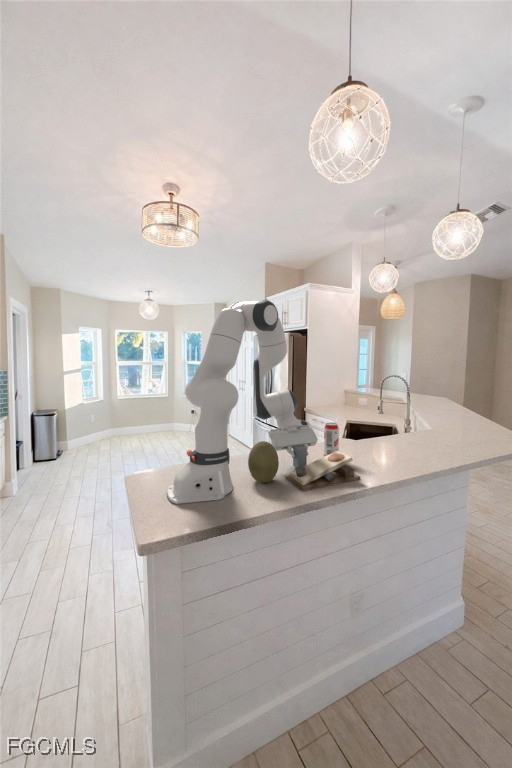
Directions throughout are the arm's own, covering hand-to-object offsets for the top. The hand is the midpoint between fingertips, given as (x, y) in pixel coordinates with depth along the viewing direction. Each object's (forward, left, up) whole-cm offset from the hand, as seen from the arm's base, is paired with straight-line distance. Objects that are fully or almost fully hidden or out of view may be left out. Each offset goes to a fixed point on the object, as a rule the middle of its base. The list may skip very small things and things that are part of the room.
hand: (300, 456), depth 129 cm
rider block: (0, +1, -4) cm, 4 cm away
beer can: (+18, +5, -5) cm, 20 cm away
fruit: (-19, -5, -5) cm, 20 cm away
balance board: (+2, -12, -1) cm, 13 cm away
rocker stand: (+2, -12, -5) cm, 14 cm away
